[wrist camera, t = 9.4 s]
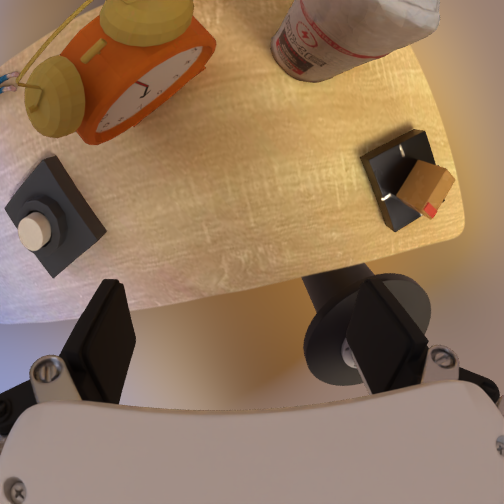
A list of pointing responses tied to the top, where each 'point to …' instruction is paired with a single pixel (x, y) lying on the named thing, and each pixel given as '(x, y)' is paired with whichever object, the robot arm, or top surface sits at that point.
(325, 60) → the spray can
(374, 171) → the panel
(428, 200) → the knob
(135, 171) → the top surface
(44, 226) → the white push button
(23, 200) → the dark grey button base
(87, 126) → the alarm clock
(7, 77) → the figurine
